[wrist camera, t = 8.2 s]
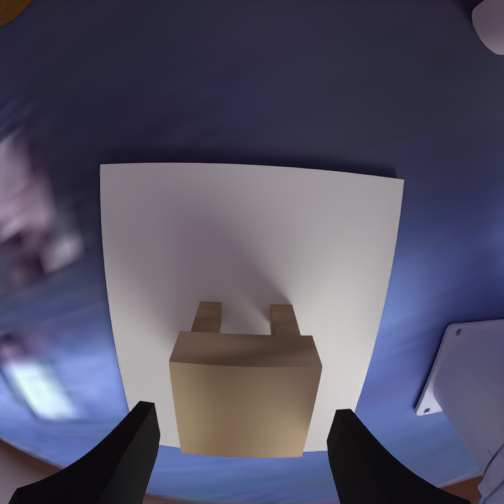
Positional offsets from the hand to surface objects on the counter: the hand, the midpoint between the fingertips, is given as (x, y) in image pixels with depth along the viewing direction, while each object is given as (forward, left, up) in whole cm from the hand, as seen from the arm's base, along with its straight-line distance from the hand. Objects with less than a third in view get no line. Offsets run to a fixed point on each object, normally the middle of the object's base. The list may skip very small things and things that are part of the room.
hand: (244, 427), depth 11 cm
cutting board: (0, 0, -7) cm, 7 cm away
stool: (0, 0, -6) cm, 6 cm away
